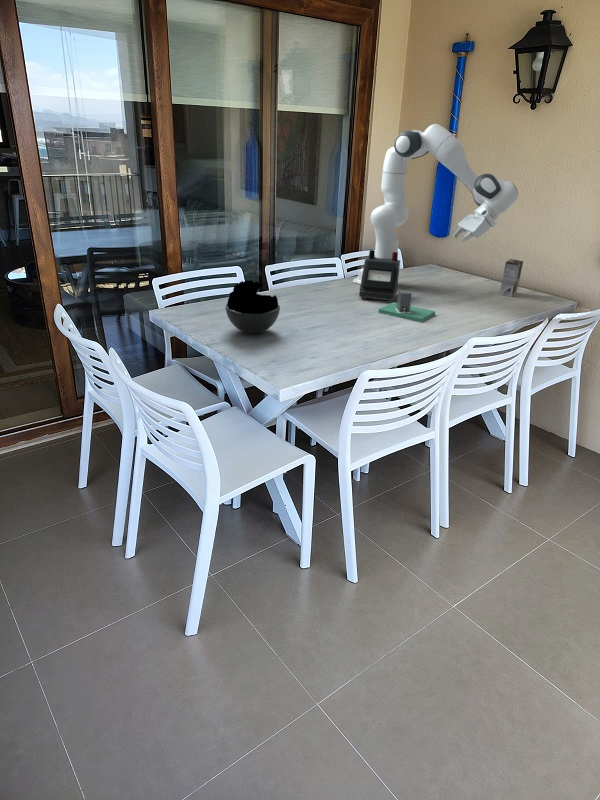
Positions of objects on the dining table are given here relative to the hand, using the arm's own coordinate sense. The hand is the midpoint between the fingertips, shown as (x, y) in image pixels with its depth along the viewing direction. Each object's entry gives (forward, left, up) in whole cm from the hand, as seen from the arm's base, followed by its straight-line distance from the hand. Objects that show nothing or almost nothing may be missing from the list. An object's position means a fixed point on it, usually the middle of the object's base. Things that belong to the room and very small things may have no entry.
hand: (457, 239), depth 233 cm
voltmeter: (-31, -10, -30) cm, 44 cm away
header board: (-9, -25, -29) cm, 39 cm away
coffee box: (+15, +40, -30) cm, 52 cm away
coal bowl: (-43, -87, -30) cm, 101 cm away
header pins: (-10, -27, -28) cm, 40 cm away
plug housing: (-10, -27, -28) cm, 40 cm away
